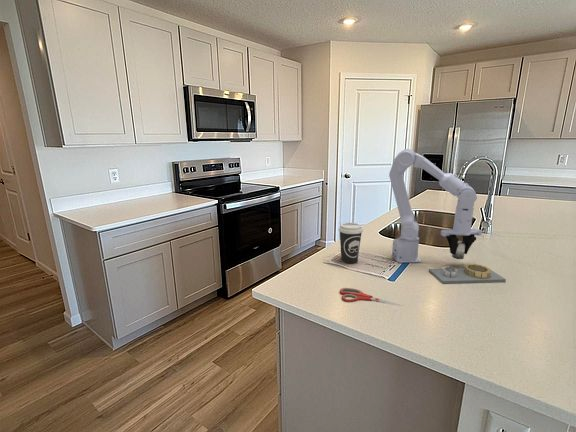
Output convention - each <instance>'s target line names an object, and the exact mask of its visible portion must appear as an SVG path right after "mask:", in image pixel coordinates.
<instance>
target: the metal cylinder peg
mask: <svg viewBox="0 0 576 432" xmlns="http://www.w3.org/2000/svg"><path fill="white" fill-rule="evenodd" d="M465 246H466V243H465V242H463V241H458V243H457V246H456V252H455V254H451V258H453V259H455V260H464V258H465V254H464V253H465Z"/></svg>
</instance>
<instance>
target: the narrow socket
mask: <svg viewBox="0 0 576 432" xmlns="http://www.w3.org/2000/svg"><path fill="white" fill-rule="evenodd" d="M441 268H442V271H441V274H442V275H445V276H447V277H451V278H452V277H457V276H458V269H456V268H457V267H454V266H449V265H447V266H446V265H445V266H442V267H441Z"/></svg>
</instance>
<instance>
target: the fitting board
mask: <svg viewBox="0 0 576 432" xmlns="http://www.w3.org/2000/svg"><path fill="white" fill-rule="evenodd" d="M455 268H456V269H458V276H457V277H452V278H451V277H447V276H445V275H442V274H441V271H442V267H441V268H428V273H430V274H431V275H432V276H433V277H435V279H436V280H437V281H439V282H440V283H441V284H442V285H445V284H446V285H447V284H448V285H449V284H450V285H451V284H477V283H478V284H481V283H482V284H483V283H484V284H485V283H506V282H507V281H506V280H507V279H506V278H504V277H503V276H501V275H500V274H499V273H497V272H496V271H493V270H492V269H491V276H490V277H489V278H487V279H480V278H474V277H471V276H469V275H467V274H465V273H464V267H455ZM473 271H477V270H473ZM477 272H481V271H477Z"/></svg>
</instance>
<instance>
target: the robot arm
mask: <svg viewBox="0 0 576 432" xmlns="http://www.w3.org/2000/svg"><path fill="white" fill-rule="evenodd" d="M412 165H413V166H412ZM411 166H412V167H413V168H417V169H418V168H421V169H422V170H424V171H425V172H427V173H428V174H430V175H431V176H432V177H434V178H435V179H437V180H438V181H439V182H438V184H439V186H440V187H442V188H443V189H444V190H445V191H447V192H448V193H449V194H451V195H452V196H453V197H456V198H457V202H456V203H457V204H456V206H455V212H454V221H453V228H449V229H441V231H440V236H442V237H446V241H448V246H449V253H450V254H451V255H452V254H455V252H456V246H457V243H458V241H459V239H458V238H457V237H456V236H461V235H462V237H463V242H465V243H466V246H465V253H464V255H467V254H468V252H469V250H470V248H471V247H472V245H473V244H474V242H476V241H477V237H476V236H478V237H479V236H481V237H482V234H483V230H481V229H479V228H478V229H476V228H472V224H473V223H472V222H473V216H474V209H475V208H474V207H475V202H476V201H477V199H478V196H477V193H476V191H475V190H474V188H473V187H472V186H470V185H469V183H467V182H464V181H463V180H462V179H460V178H459V176H458V175H457V174H456V173H454V174H453V173H452V172H449V173H445V172H444V171H443V170H441V169H440V168H439V167H438V166H436V165H435V164H434V163H432V162H431V160H429V159H427V158H426V157H425V156H423V155H421V154H419V153H417V152H415V151H414V150H413V149H410V148H405V149H403V150H401V151H400V152H399V153H398V154H397V155H396V156H395V158H394V160H393V162H392V165H391V168H390V171H389V173H388V175H389V176H388V177H389V180H390V183H391V187H392V191H393V196H394V198H395V202H396V206H397V209H398V214H399V217H400V226H401V230H400V235H399V237H397V238H394V239H393V241H392V246H391V247H392V249H391V254H390V255H391V257H392V258H393V259H394V260H395V261H396V262H397V263H398V264H400V263H402V264H404V263H422V260H421V259H420V258H419V257H418V254H419V245H420V237H419V229H420V225H419V223H418V222H417V221H416V218H415V216H414V213H413V210H412V206H411V203H410V199H409V195H408V191H407V187H406V184H405V180H404V177H403V176H404V174H405V173H406V171H407V169H409V168H410V167H411Z"/></svg>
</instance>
